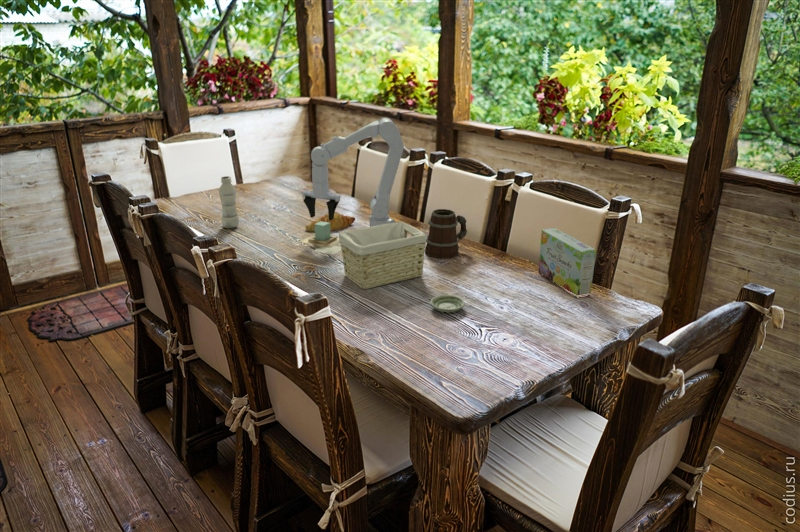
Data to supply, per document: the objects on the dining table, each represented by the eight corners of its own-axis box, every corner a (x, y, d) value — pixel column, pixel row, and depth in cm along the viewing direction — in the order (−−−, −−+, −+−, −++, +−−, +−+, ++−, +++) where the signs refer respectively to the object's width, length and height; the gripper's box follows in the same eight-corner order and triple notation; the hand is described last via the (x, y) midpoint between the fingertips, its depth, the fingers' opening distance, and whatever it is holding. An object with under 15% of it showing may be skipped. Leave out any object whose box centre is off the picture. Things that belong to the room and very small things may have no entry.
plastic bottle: (242, 225, 239) (237, 175, 232) (236, 230, 233) (231, 179, 225) (226, 224, 240) (221, 175, 232) (219, 229, 233) (214, 179, 226)
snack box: (536, 273, 196) (540, 229, 190) (551, 270, 197) (555, 227, 192) (575, 299, 177) (582, 251, 171) (591, 296, 179) (598, 248, 173)
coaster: (345, 249, 214) (345, 247, 214) (332, 256, 208) (332, 254, 208) (327, 245, 218) (326, 243, 218) (313, 252, 211) (313, 250, 211)
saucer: (443, 299, 177) (443, 291, 176) (470, 308, 171) (471, 301, 170) (423, 310, 170) (423, 302, 169) (451, 320, 164) (451, 312, 163)
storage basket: (359, 292, 180) (358, 246, 175) (337, 274, 193) (336, 230, 188) (427, 278, 191) (429, 233, 186) (402, 261, 204) (403, 219, 199)
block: (330, 239, 222) (329, 222, 220) (324, 242, 219) (323, 225, 216) (321, 237, 224) (320, 221, 221) (315, 241, 221) (314, 224, 218)
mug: (436, 261, 205) (437, 218, 199) (419, 250, 214) (420, 209, 209) (474, 254, 211) (477, 212, 206) (456, 243, 221) (458, 204, 216)
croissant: (309, 243, 231) (312, 228, 225) (299, 225, 236) (301, 210, 230) (358, 233, 241) (362, 218, 235) (347, 216, 246) (350, 201, 240)
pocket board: (347, 240, 223) (347, 236, 222) (330, 249, 214) (330, 245, 213) (316, 234, 229) (316, 230, 228) (298, 243, 220) (298, 238, 219)
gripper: (344, 181, 214) (344, 217, 219) (308, 176, 219) (310, 212, 224) (334, 185, 208) (335, 223, 213) (298, 181, 213) (300, 217, 218)
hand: (321, 218), depth 218 cm, fingers open, 7 cm apart
